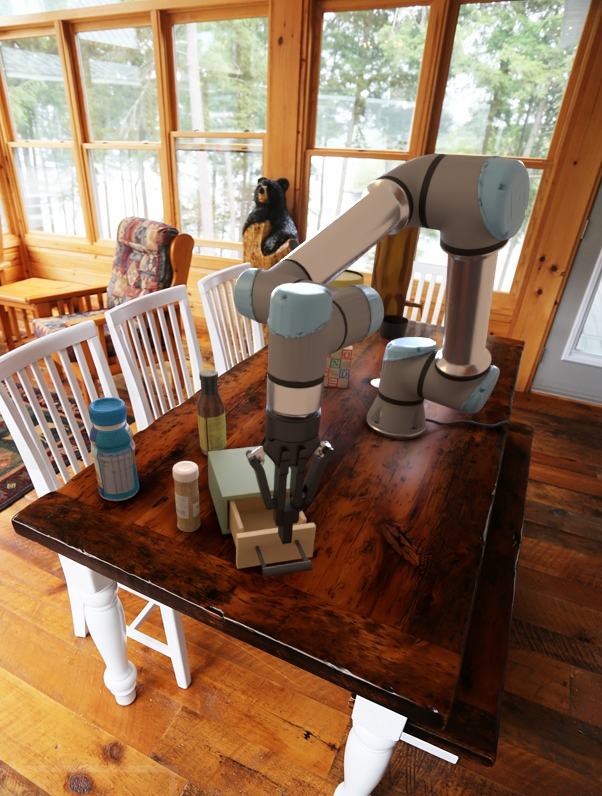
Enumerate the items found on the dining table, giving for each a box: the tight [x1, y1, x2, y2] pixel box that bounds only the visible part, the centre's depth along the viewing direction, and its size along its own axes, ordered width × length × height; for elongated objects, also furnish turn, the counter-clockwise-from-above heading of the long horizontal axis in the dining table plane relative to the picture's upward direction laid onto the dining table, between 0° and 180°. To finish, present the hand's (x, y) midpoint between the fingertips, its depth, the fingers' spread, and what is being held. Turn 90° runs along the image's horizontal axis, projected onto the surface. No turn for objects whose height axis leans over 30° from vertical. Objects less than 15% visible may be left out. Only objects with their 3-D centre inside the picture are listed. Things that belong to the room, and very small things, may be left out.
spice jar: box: [172, 460, 202, 533], centre depth 93 cm, size 5×5×13 cm
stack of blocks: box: [324, 345, 353, 389], centre depth 153 cm, size 21×6×12 cm, turn 84°
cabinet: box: [207, 445, 291, 535], centre depth 101 cm, size 16×15×9 cm
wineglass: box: [370, 315, 409, 389], centre depth 151 cm, size 8×9×20 cm
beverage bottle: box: [87, 396, 140, 502], centre depth 100 cm, size 8×8×20 cm
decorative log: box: [370, 227, 424, 332], centre depth 194 cm, size 14×40×30 cm
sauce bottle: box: [196, 369, 228, 457], centre depth 115 cm, size 7×6×20 cm
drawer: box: [227, 492, 317, 579], centre depth 89 cm, size 21×14×7 cm, turn 15°
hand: (284, 537), depth 81 cm, fingers closed
